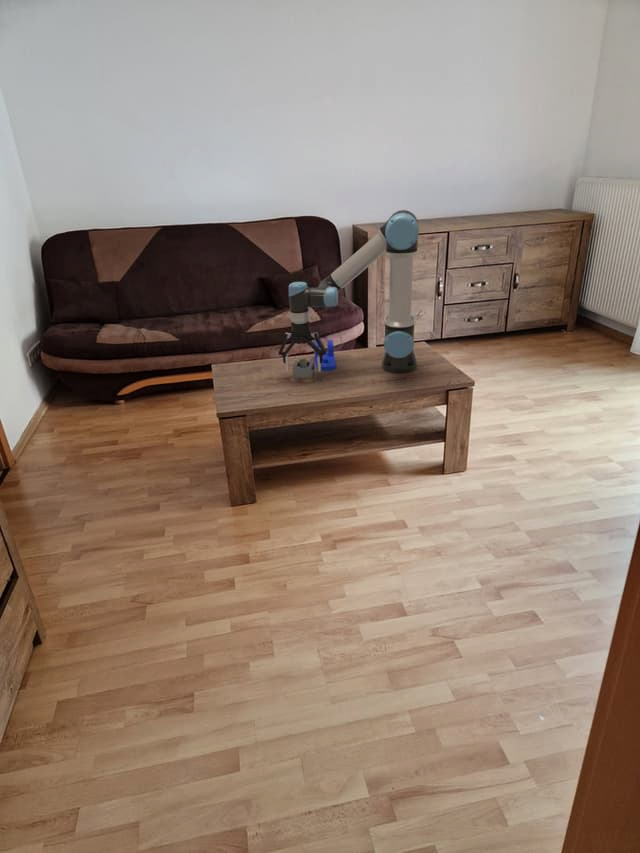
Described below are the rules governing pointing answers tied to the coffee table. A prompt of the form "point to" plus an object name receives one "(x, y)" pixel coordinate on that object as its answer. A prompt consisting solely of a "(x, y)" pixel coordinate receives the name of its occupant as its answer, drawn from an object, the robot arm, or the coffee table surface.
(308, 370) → the gray square frame
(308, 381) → the peg stand
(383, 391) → the coffee table surface
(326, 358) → the bracket
